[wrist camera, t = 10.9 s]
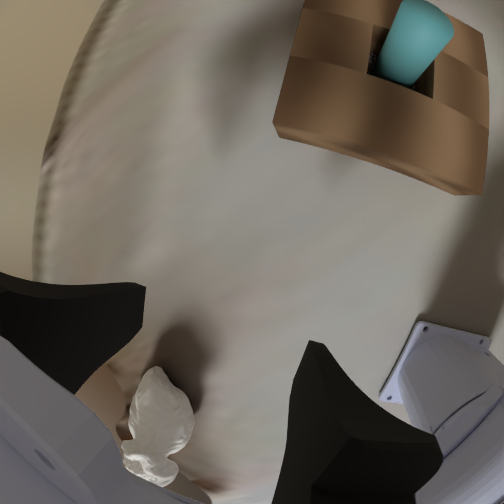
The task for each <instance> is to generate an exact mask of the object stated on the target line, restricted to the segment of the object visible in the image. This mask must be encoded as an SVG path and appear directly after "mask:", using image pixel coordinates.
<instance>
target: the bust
mask: <svg viewBox="0 0 504 504" xmlns="http://www.w3.org/2000/svg"><path fill="white" fill-rule="evenodd" d="M128 422H129V428H130V432H131V434H132V436H133V438H134V439H133V440H127V441H125V440H124V441H123V444H122V445H121V447H122V448H123V450H124V460H123V463H124V464H125V466H126V468H127V469H128V471H130V472H131V473H133V474H135V475H137V476H139V477H141V478H143V479H145V480H147V481H149V482H152V483H154V484H156V485H158V486H160V487H164V486H166V485H168V484H169V483H171V482H172V481H173V480H174V479H175V477H176V474H177V473H178V471H179V470H178V466H177V464H176V463H175V462H173V461H171V460H169V459H168V458H167V457H168V456H169V455H170V454H172V453H176V452H178V451H179V450H180V449H182V448H183V447H184V446H185V445H186V444H187V442H188V441H189V439H190V437H191V434H192V431H193V427H194V424H195V421H194V415H193V410H192V407H191V405H190V402H189V399H188V397H187V396H186V394H185V393H184V392H183V391H182V390H180V389H179V388H177V387H175V386H174V385H173V384H172V383H171V382H170V380H169V379H168V377H167V375H166V374H165V373H164V371H163V369H162V368H161V367H159V366H154V367H152V368H150V369H149V370H148V371H147V372H146V373H145V374H144V376H143V378H142V380H141V382H140V384H139V386H138V389H137V391H136V394H135V395H134V396H133V400H132V403H131V406H130V417H129V421H128Z"/></svg>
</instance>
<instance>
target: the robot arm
mask: <svg viewBox="0 0 504 504" xmlns="http://www.w3.org/2000/svg"><path fill="white" fill-rule="evenodd" d="M145 293H146V287H145V286H142V285H139V284H137V283H132V282H121V283H107V284H92V285H57V284H47V283H41V282H34V281H29V280H25V279H21V278H17V277H13V276H10V275H7V274H5V273H2V272H0V504H204V503H201V502H199V501H196V500H193V499H190V498H187V497H185V496H182V495H180V494H177V493H175V492H172V491H170V490H167V489H165V488H163V487H160V486H158V485H156V484H154V483H152V482H149V481H147V480H145V479H143V478H141V477H139V476H137V475H135V474H133V473H131V472H130V471H128V470H127V469H125V468H124V467H123V463H122V457H121V453H120V450H119V447H118V445H117V443H116V441H115V439H114V437H113V435H112V433H111V431H110V430H109V429H108V428H107V427H106V426H105V424H104V423H103V422H102V421H101V420H100V418H99V417H98V416H97V415H96V413H95V412H94V411H92V410H91V409H90V408H89V407H88V406H86V405H85V404H84V403H83V402H82V401H81V400H79V399H78V398H77V397H76V396H75V393H76V392H77V391H78V390H79V388H80V387H81V386H82V385H83V384H84V383H85V381H86V380H87V379H88V378H89V377H90V376H91V375H92V374H93V373H94V372H95V371H96V370H97V369H98V368H99V367H100V366H101V365H102V364H104V363H105V362H106V361H107V360H108V359H110V358H111V357H112V356H113V355H115V354H116V353H117V352H118V351H119V350H120V349H122V348H123V347H124V346H125V345H126V344H127V343H129V342H130V341H131V340H132V339H133V337H134V336H135V335H136V334H137V333H138V331H139V330H140V329H141V328H142V323H143V312H144V302H145ZM426 326H427V328H426V330H423V329H424V327H426ZM480 341H481V342H480ZM491 341H492V340H491V338H490V337H487V336H483V335H478V334H474V333H470V332H466V331H461V330H457V329H453V328H449V327H445V326H441V325H437V324H433V323H429V322H425V321H418V322H417V323H416V324H415V326H414V328H413V330H412V333H411V335H410V337H409V339H408V341H407V343H406V345H405V348H404V350H403V352H402V354H401V356H400V358H399V360H398V362H397V363H396V365H395V367H394V369H393V371H392V373H391V375H390V376H389V378H388V380H387V382H386V384H385V385H384V387H383V389H382V391H381V392H380V394H379V399H380V401H384V402H391V403H399V404H404V406H405V408H406V411H407V413H408V416H409V419H410V422H411V424H412V426H411V425H409V424H407V423H405V422H404V421H402V420H400V419H398V418H396V417H395V416H393V415H392V414H390V413H389V412H387V411H386V410H384V409H383V408H382V407H380V406H379V405H377V404H376V403H375V402H374V401H372V400H371V399H370V398H369V397H368V396H367V395H366V394H365V393H363V392H362V391H361V390H360V389H359V388H358V387H357V386H356V385H355V383H354V382H353V381H352V380H351V379H350V378H349V377H348V376H347V374H346V373H345V372H344V371H343V369H342V368H341V367H340V365H339V364H338V363H337V361H336V360H335V358H334V357H333V356H332V354H331V353H330V351H329V350H328V349H327V347H326V346H325V345H324V344H322V343H319V342H315V341H311V340H309V342H308V345H307V347H306V350H305V352H304V355H303V357H302V360H301V362H300V365H299V367H298V370H297V372H296V374H295V377H294V379H293V384H292V389H291V394H290V400H289V414H288V429H287V442H286V449H285V454H284V458H283V463H282V467H281V471H280V475H279V479H278V483H277V487H276V490H275V494H274V497H273V500H272V504H501V503H502V502H503V501H504V365H503V364H502V363H501V362H500V361H499V360H498V359H497V358H496V357H495V356H494V355H493V354H492V353H491V352H490V351H489V350H488V348H489V346H490V344H491ZM388 396H390V397H389V398H387V397H388ZM502 504H504V502H503V503H502Z"/></svg>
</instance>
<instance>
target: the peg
mask: <svg viewBox="0 0 504 504" xmlns="http://www.w3.org/2000/svg"><path fill="white" fill-rule="evenodd" d="M453 36H454V28H453V25H452V23H451V21H450V20H449V18H448V17H447V16H446V15H445V14H444V13H443V12H442V11H441V10H440V9H439V8H438V7H436V6H435V5H433V4H431V3H429V2H427V1H425V0H403V1H402V3H401V5H400V7H399V10H398V12H397V14H396V17H395V19H394V22H393V24H392V26H391V29H390V31H389V33H388V36H387V38H386V40H385V43H384V45H383V47H382V49H381V52H380V54H379V56H378V59H377V61H376V63H375V65H374V68H373V70H372V72H371V75H372V76H375V77H378V78H381V79H384V80H387V81H390V82H392V83H395V84H398V85H400V86H403V87H406V88H408V89H409V88H410V87H411V86H412V85H413V84H414V83H415V81H416V80H417V79H418V78H419V77H420V75H421V74H422V73H423V72H424V71H425V70H426V68H427V67H428V66H429V65H430V64H431V62H432V61H433V60H434V59H435V58H436V57H437V55H438V54H439V53H440V52H441V51H442V49H443V48H444V47H445V46H446V45H447V43H448V42H449V41H450V40H451V39H452V37H453Z"/></svg>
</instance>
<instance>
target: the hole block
mask: <svg viewBox="0 0 504 504" xmlns="http://www.w3.org/2000/svg"><path fill="white" fill-rule="evenodd" d="M402 1H403V0H305V2H304V6H303V9H302V13H301V17H300V20H299V24H298V28H297V31H296V35H295V39H294V42H293V46H292V50H291V53H290V57H289V61H288V65H287V68H286V72H285V76H284V80H283V84H282V87H281V91H280V95H279V99H278V103H277V107H276V110H275V114H274V118H273V124H274V126H275V129H276V131H277V133H278V136H279V138H284V139H288V140H293V141H297V142H301V143H305V144H309V145H313V146H317V147H320V148H324V149H328V150H331V151H335V152H338V153H342V154H345V155H348V156H352V157H355V158H358V159H361V160H364V161H367V162H370V163H373V164H376V165H379V166H382V167H385V168H388V169H391V170H394V171H396V172H399V173H402V174H404V175H407V176H410V177H412V178H415V179H417V180H420V181H422V182H425V183H427V184H429V185H432V186H434V187H437V188H439V189H441V190H443V191H446V192H448V193H450V194H452V195H482V191H483V185H484V178H485V170H486V161H487V151H488V136H489V85H488V71H487V61H486V53H485V46H484V39H483V34H482V33H480V32H479V31H477V30H475V29H474V28H472V27H470V26H469V25H467V24H465V23H463V22H461V21H460V20H458V19H456V18H454V17H452V16H450V15H448V14H446V13H444V12H443V13H444V14H445V15H446V16H447V17H448V18H449V20H450V21H451V23H452V25H453V28H454V36H453V37H452V39H451V40H450V41H449V42H448V43H447V45H446V46H445V47H444V48H443V49H442V51H441V52H440V53H439V54H438V55H437V57H436V58H435V59H434V60H433V61H432V62H431V64H430V65H429V66H428V67H427V68H426V70H425V71H424V72H423V73H422V74H421V75H420V77H419V78H418V79H417V80H416V88H415V91H413V90H410V89H408V88H406V87H403V86H400V85H398V84H395V83H392V82H390V81H387V80H384V79H381V78H378V77H375V76H372V75H369V74H367V69H368V62H369V55H370V52H371V53H374V54H377V55H379V54H380V52H381V49H382V47H383V45H384V43H385V40H386V38H387V36H388V33H389V31H390V29H391V26H392V24H393V22H394V19H395V17H396V14H397V12H398V10H399V7H400V5H401V3H402Z"/></svg>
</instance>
